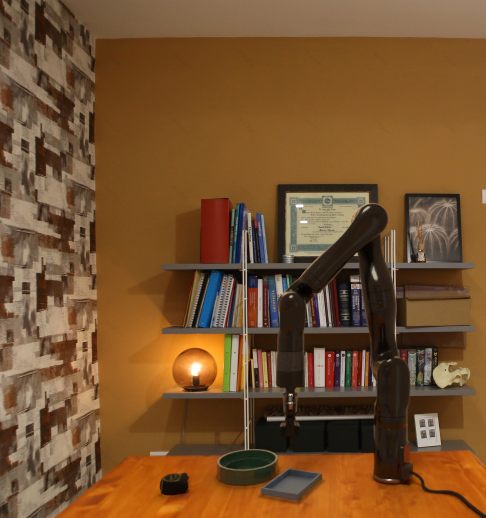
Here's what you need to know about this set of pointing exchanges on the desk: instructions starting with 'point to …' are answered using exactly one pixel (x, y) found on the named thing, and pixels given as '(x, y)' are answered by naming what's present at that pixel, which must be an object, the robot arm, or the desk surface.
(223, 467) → the bowl
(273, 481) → the tray
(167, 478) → the tape measure
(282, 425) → the clip
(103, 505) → the desk surface
